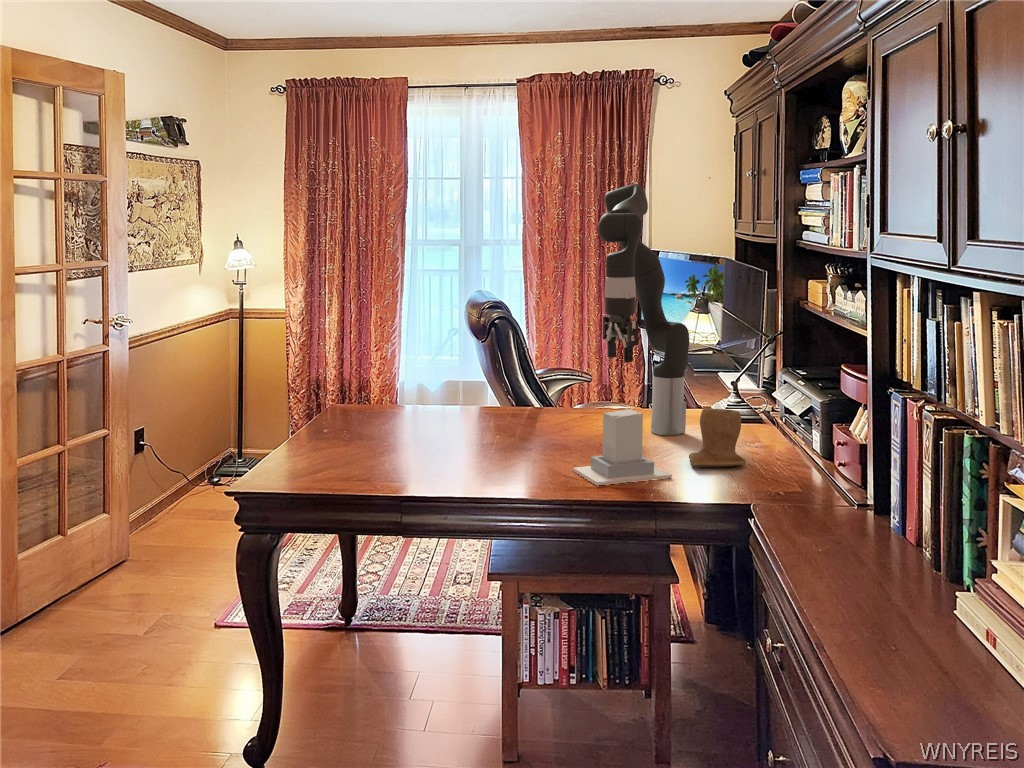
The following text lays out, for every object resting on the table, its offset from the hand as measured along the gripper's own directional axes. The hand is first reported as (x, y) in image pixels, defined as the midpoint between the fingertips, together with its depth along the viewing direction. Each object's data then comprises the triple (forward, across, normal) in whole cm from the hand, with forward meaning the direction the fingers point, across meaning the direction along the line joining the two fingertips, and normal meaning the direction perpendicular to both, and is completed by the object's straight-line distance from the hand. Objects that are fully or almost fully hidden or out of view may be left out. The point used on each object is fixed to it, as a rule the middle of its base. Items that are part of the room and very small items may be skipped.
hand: (620, 359), depth 224 cm
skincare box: (+27, +8, -4) cm, 28 cm away
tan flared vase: (+28, +8, +23) cm, 38 cm away
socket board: (+27, +8, -4) cm, 29 cm away
